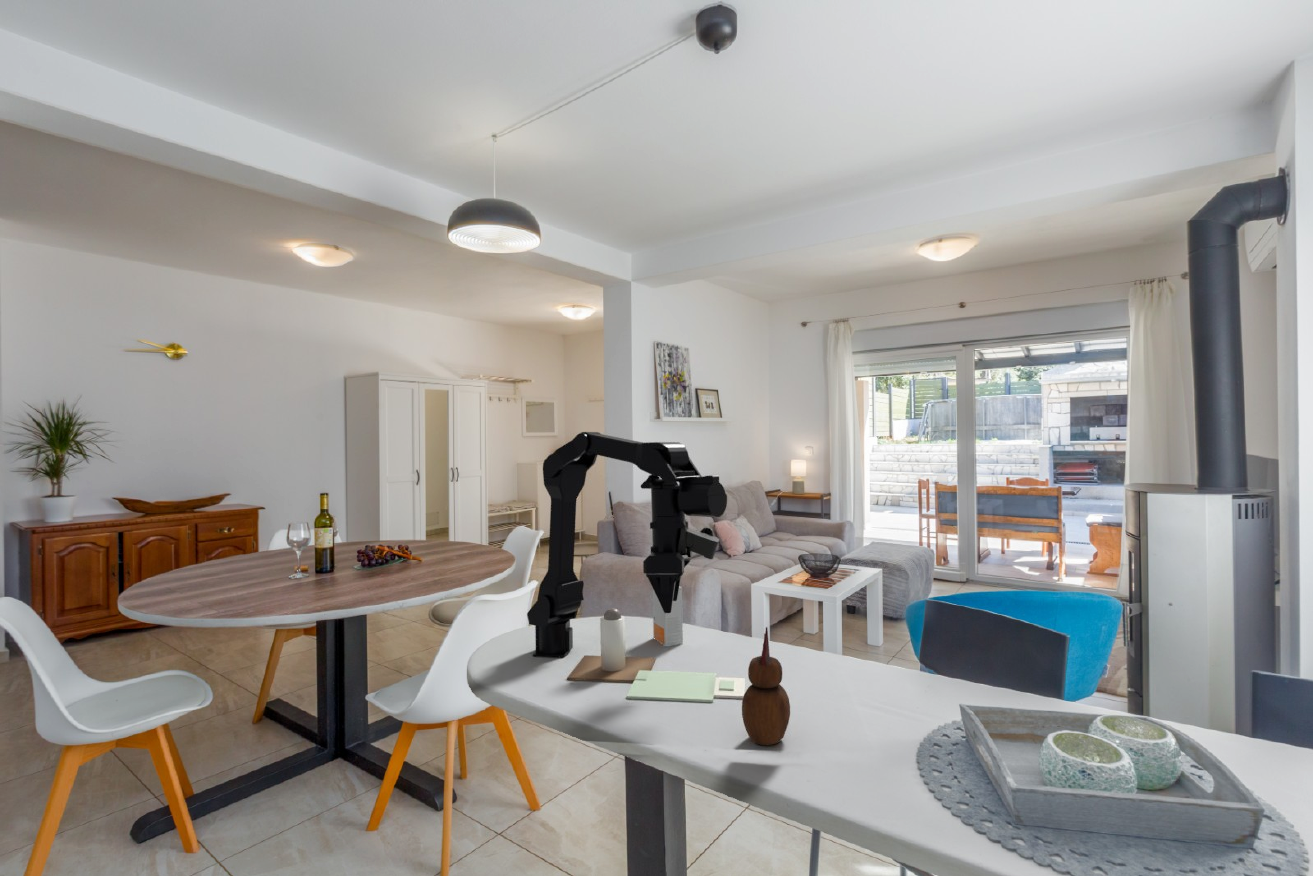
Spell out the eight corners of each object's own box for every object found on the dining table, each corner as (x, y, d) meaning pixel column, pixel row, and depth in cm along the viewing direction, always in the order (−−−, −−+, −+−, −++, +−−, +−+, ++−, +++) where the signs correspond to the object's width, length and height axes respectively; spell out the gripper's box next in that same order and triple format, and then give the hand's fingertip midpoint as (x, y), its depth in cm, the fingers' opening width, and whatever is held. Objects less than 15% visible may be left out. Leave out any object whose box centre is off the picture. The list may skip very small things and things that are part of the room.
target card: (707, 697, 103) (707, 692, 103) (710, 679, 111) (710, 675, 111) (744, 698, 102) (744, 694, 102) (745, 680, 110) (745, 676, 110)
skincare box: (652, 640, 134) (651, 583, 134) (670, 637, 135) (669, 581, 136) (665, 648, 128) (664, 589, 128) (683, 645, 130) (682, 586, 130)
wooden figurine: (760, 725, 92) (758, 622, 92) (796, 736, 88) (794, 629, 89) (735, 742, 87) (733, 633, 87) (772, 755, 83) (770, 640, 83)
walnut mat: (567, 679, 111) (567, 677, 111) (584, 657, 123) (584, 655, 123) (645, 683, 109) (645, 680, 109) (655, 660, 121) (655, 657, 121)
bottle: (598, 671, 114) (597, 611, 114) (604, 662, 119) (603, 605, 119) (623, 671, 114) (622, 611, 114) (627, 663, 118) (626, 605, 118)
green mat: (626, 698, 103) (626, 696, 103) (639, 672, 114) (639, 670, 114) (713, 702, 101) (713, 699, 101) (716, 675, 112) (716, 673, 112)
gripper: (712, 520, 98) (715, 621, 98) (718, 509, 116) (720, 594, 116) (641, 521, 100) (644, 620, 99) (658, 510, 118) (660, 594, 118)
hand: (670, 606), depth 108 cm, fingers open, 8 cm apart
